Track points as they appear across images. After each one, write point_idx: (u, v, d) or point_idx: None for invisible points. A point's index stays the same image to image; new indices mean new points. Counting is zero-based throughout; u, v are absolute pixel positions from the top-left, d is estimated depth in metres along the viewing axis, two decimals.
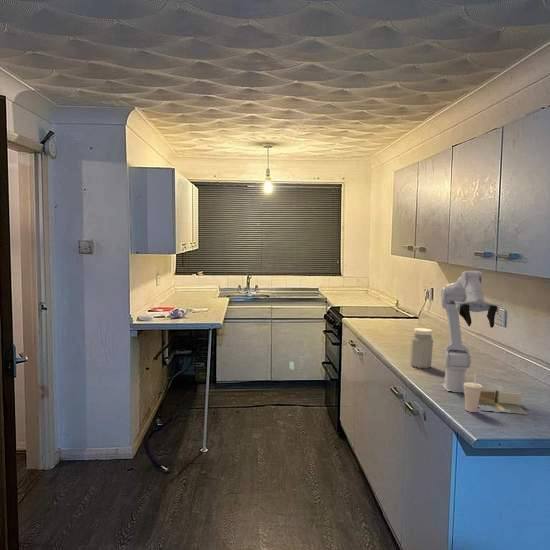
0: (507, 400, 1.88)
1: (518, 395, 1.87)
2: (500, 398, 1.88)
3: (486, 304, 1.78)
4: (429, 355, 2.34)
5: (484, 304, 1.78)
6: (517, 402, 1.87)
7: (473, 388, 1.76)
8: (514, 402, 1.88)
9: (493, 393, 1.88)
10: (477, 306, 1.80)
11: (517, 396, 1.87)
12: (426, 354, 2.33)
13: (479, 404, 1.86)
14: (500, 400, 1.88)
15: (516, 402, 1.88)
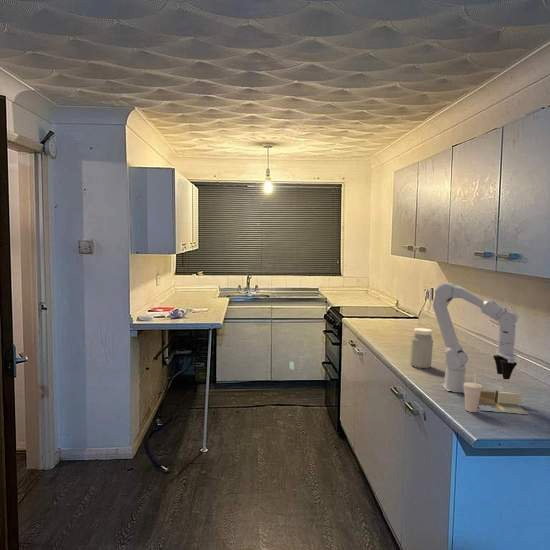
0: (507, 400, 1.88)
1: (518, 395, 1.87)
2: (500, 398, 1.88)
3: None
4: (429, 355, 2.34)
5: None
6: (517, 402, 1.87)
7: (473, 388, 1.76)
8: (514, 402, 1.88)
9: (493, 393, 1.88)
10: None
11: (517, 396, 1.87)
12: (426, 354, 2.33)
13: (479, 404, 1.86)
14: (500, 400, 1.88)
15: (516, 402, 1.88)
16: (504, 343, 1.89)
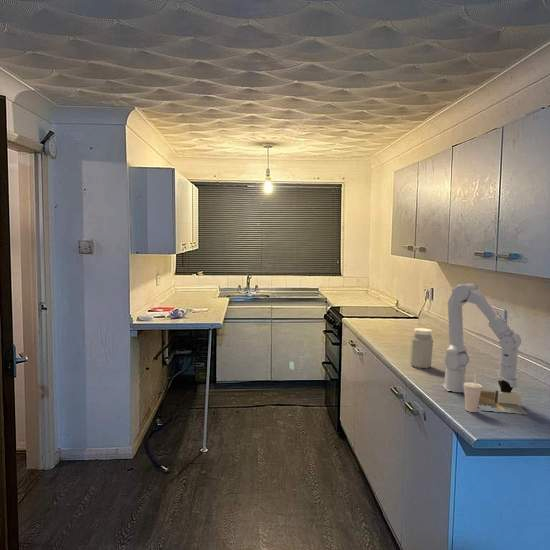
0: (507, 400, 1.88)
1: (518, 395, 1.87)
2: (500, 398, 1.88)
3: None
4: (429, 355, 2.34)
5: None
6: (517, 402, 1.87)
7: (473, 388, 1.76)
8: (514, 402, 1.88)
9: (493, 393, 1.88)
10: None
11: (517, 396, 1.87)
12: (426, 354, 2.33)
13: (479, 404, 1.86)
14: (500, 400, 1.88)
15: (516, 403, 1.87)
16: (506, 367, 1.86)
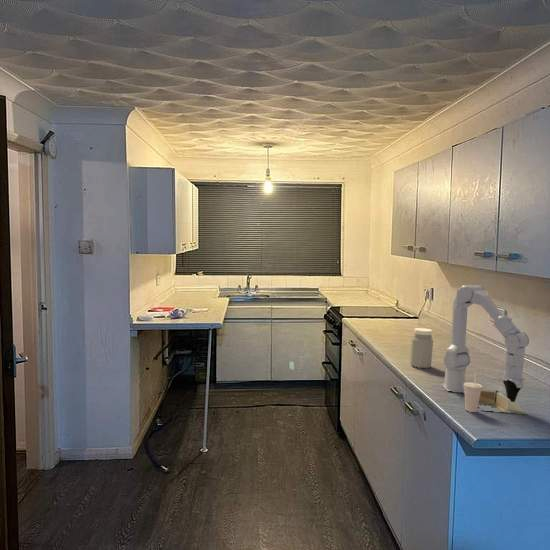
0: (500, 402, 1.85)
1: (506, 400, 1.81)
2: (497, 398, 1.87)
3: None
4: (429, 355, 2.34)
5: None
6: (505, 407, 1.81)
7: (473, 388, 1.76)
8: (503, 406, 1.82)
9: (493, 393, 1.88)
10: None
11: (505, 401, 1.81)
12: (426, 354, 2.33)
13: (479, 404, 1.86)
14: (496, 401, 1.87)
15: (505, 407, 1.81)
16: (512, 366, 1.79)
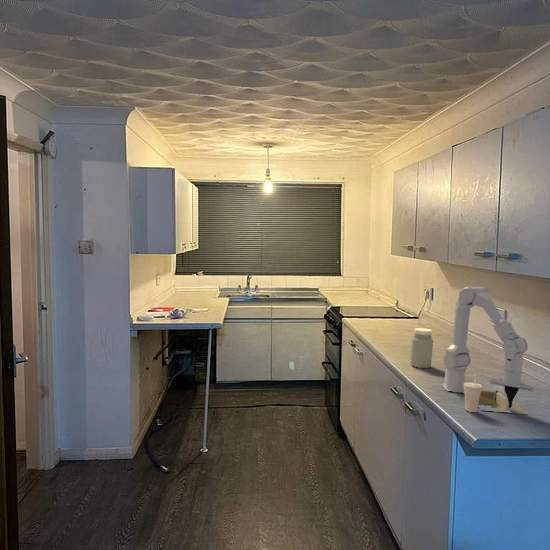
0: (499, 402, 1.85)
1: (504, 400, 1.81)
2: (496, 398, 1.87)
3: None
4: (429, 355, 2.34)
5: None
6: (503, 407, 1.81)
7: (473, 388, 1.76)
8: (502, 406, 1.82)
9: (493, 393, 1.88)
10: None
11: (503, 401, 1.81)
12: (426, 354, 2.33)
13: (479, 404, 1.86)
14: (496, 400, 1.87)
15: (503, 407, 1.82)
16: (520, 372, 1.78)
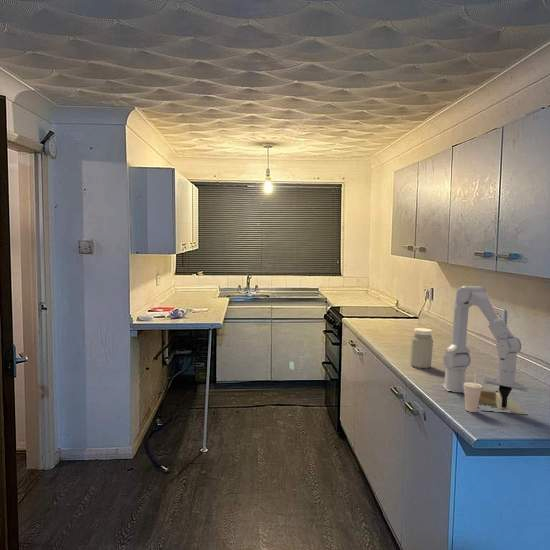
0: (496, 402, 1.85)
1: (498, 399, 1.81)
2: (495, 398, 1.88)
3: None
4: (429, 355, 2.34)
5: None
6: (498, 406, 1.82)
7: (473, 388, 1.76)
8: (497, 406, 1.83)
9: (493, 393, 1.88)
10: None
11: (498, 400, 1.82)
12: (426, 354, 2.33)
13: (479, 404, 1.86)
14: (495, 400, 1.88)
15: (497, 407, 1.82)
16: (513, 372, 1.78)
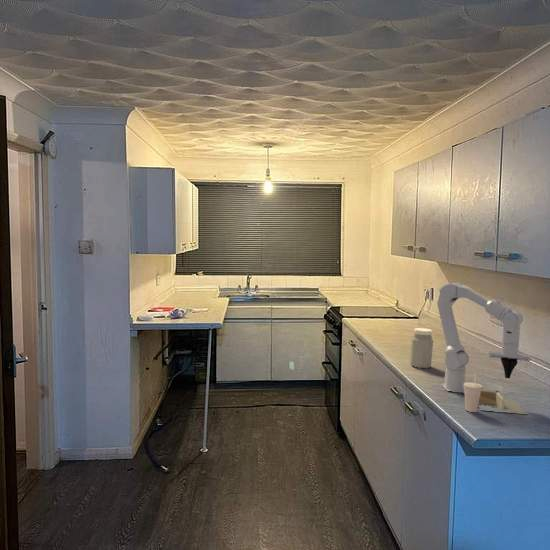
0: (497, 402, 1.85)
1: (500, 399, 1.81)
2: (496, 398, 1.87)
3: None
4: (429, 355, 2.34)
5: None
6: (500, 407, 1.81)
7: (473, 388, 1.76)
8: (499, 406, 1.83)
9: (493, 393, 1.88)
10: None
11: (500, 400, 1.81)
12: (426, 354, 2.33)
13: (479, 404, 1.86)
14: (495, 400, 1.87)
15: (499, 407, 1.82)
16: (518, 344, 1.86)
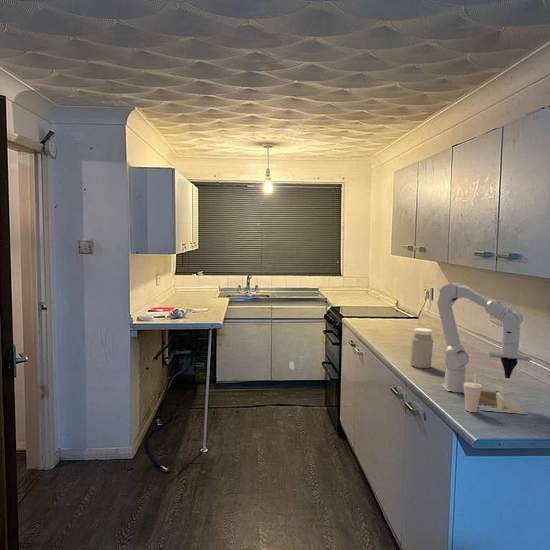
0: (497, 402, 1.85)
1: (500, 399, 1.81)
2: (496, 398, 1.87)
3: None
4: (429, 355, 2.34)
5: None
6: (500, 407, 1.81)
7: (473, 388, 1.76)
8: (499, 406, 1.83)
9: (493, 393, 1.88)
10: None
11: (500, 400, 1.81)
12: (426, 354, 2.33)
13: (479, 404, 1.86)
14: (495, 400, 1.87)
15: (499, 407, 1.82)
16: (518, 344, 1.86)
